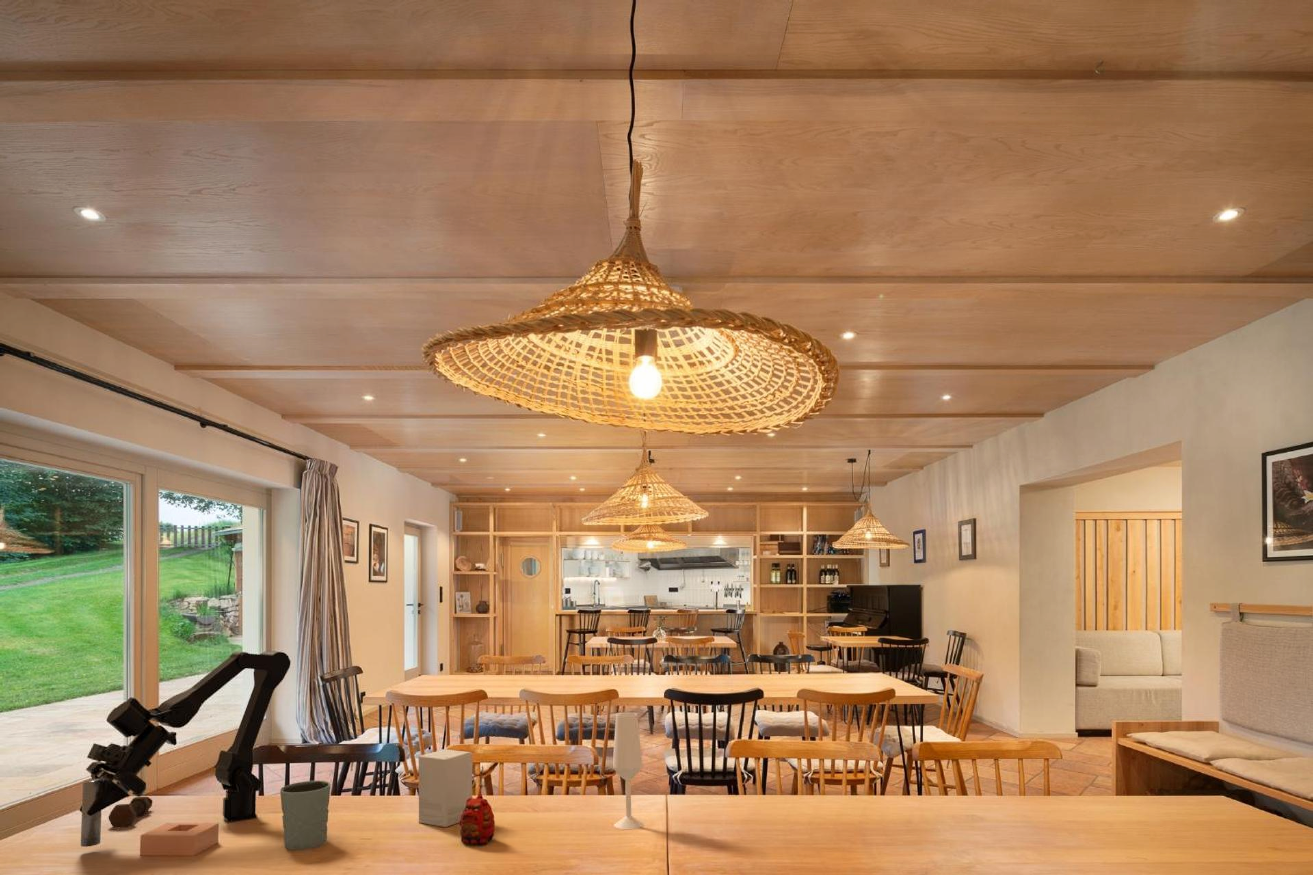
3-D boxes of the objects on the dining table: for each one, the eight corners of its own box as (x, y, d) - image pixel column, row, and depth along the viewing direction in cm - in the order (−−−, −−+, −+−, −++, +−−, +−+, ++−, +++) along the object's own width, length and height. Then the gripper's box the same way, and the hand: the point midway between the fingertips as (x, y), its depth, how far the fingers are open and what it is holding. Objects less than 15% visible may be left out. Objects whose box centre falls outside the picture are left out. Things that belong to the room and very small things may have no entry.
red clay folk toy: (453, 844, 200) (453, 771, 202) (471, 835, 207) (470, 764, 209) (485, 847, 198) (484, 773, 199) (501, 838, 204) (501, 766, 206)
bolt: (148, 818, 235) (123, 833, 220) (130, 808, 235) (103, 823, 220) (162, 796, 236) (137, 810, 221) (144, 786, 236) (118, 799, 221)
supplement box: (473, 818, 220) (473, 751, 222) (445, 827, 213) (446, 759, 215) (445, 813, 225) (445, 747, 227) (417, 822, 218) (417, 755, 219)
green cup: (339, 838, 207) (340, 781, 208) (308, 853, 197) (309, 793, 199) (301, 835, 210) (302, 779, 211) (268, 849, 200) (269, 790, 202)
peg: (100, 840, 204) (102, 777, 205) (100, 844, 201) (102, 780, 202) (80, 843, 202) (82, 780, 204) (80, 847, 199) (83, 783, 201)
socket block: (166, 841, 207) (166, 822, 208) (218, 842, 206) (218, 823, 207) (139, 855, 199) (140, 835, 199) (193, 855, 197) (194, 835, 198)
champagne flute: (608, 827, 210) (606, 716, 213) (621, 819, 216) (619, 711, 219) (636, 830, 207) (634, 717, 210) (648, 821, 213) (646, 712, 216)
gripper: (97, 723, 213) (39, 784, 203) (132, 732, 201) (72, 797, 192) (133, 753, 218) (78, 814, 209) (169, 763, 206) (113, 828, 197)
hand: (84, 813), depth 201 cm, fingers closed on peg, 4 cm apart
